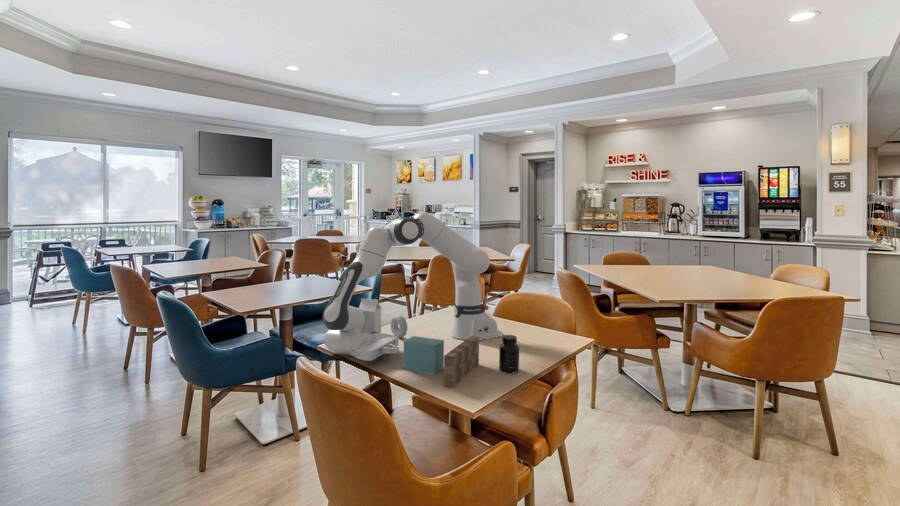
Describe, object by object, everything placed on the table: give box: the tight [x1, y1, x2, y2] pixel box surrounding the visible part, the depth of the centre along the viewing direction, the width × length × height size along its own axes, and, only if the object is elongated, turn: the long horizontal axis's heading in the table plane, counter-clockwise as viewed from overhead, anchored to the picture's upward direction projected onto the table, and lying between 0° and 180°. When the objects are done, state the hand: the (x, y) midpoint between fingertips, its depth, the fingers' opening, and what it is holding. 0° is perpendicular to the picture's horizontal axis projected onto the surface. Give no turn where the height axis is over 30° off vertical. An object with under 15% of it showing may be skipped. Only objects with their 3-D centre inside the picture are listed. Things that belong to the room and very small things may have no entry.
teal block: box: [403, 335, 445, 375], centre depth 162 cm, size 12×7×10 cm, turn 67°
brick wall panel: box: [443, 336, 480, 389], centre depth 156 cm, size 24×3×10 cm, turn 157°
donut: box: [390, 314, 409, 339], centre depth 199 cm, size 10×4×10 cm, turn 43°
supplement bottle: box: [498, 334, 520, 374], centre depth 161 cm, size 7×7×12 cm
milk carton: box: [358, 298, 382, 334], centre depth 186 cm, size 7×7×19 cm
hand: (397, 350), depth 166 cm, fingers closed
